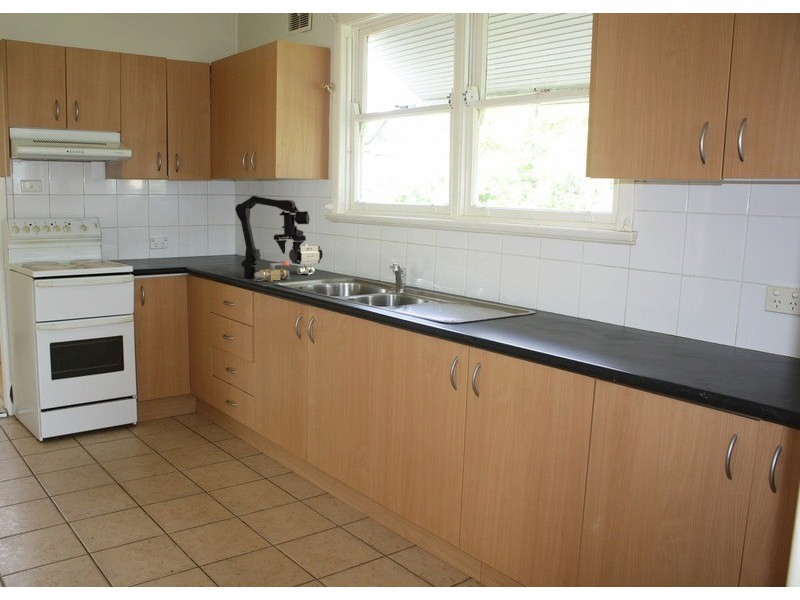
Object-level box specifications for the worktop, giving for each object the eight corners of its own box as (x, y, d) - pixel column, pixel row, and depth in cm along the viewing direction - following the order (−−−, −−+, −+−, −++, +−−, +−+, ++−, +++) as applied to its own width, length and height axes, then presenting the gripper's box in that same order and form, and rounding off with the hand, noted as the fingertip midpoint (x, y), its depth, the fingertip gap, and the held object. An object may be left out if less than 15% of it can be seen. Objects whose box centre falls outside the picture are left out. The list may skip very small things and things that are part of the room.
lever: (272, 270, 374) (272, 262, 374) (267, 269, 378) (267, 262, 377) (291, 268, 382) (291, 261, 381) (286, 267, 385) (286, 260, 385)
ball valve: (297, 276, 395) (297, 244, 392) (288, 275, 401) (288, 243, 398) (324, 274, 406) (324, 243, 404) (315, 273, 413) (315, 242, 410)
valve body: (259, 282, 368) (259, 270, 368) (252, 281, 373) (252, 269, 372) (291, 279, 383) (291, 268, 382) (284, 278, 387) (284, 267, 386)
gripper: (313, 224, 378) (313, 253, 381) (288, 223, 389) (288, 252, 392) (297, 225, 369) (298, 255, 372) (272, 223, 381) (273, 253, 383)
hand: (290, 254), depth 380 cm, fingers open, 9 cm apart
